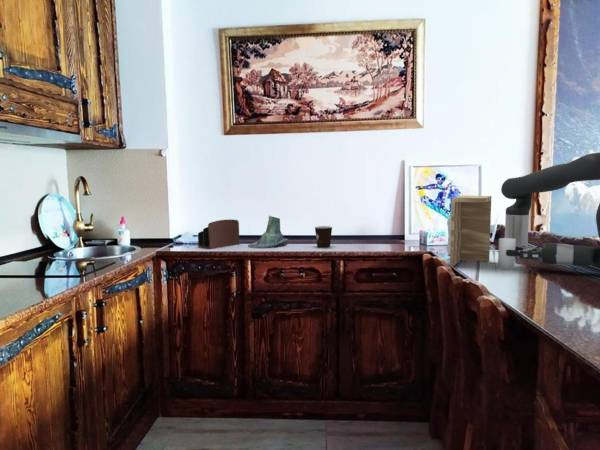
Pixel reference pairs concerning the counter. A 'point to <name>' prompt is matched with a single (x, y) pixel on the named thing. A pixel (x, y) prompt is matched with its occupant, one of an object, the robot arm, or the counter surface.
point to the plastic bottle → (449, 235)
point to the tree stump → (270, 235)
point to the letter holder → (219, 234)
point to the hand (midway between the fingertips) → (507, 250)
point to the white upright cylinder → (503, 259)
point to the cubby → (470, 229)
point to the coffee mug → (323, 236)
